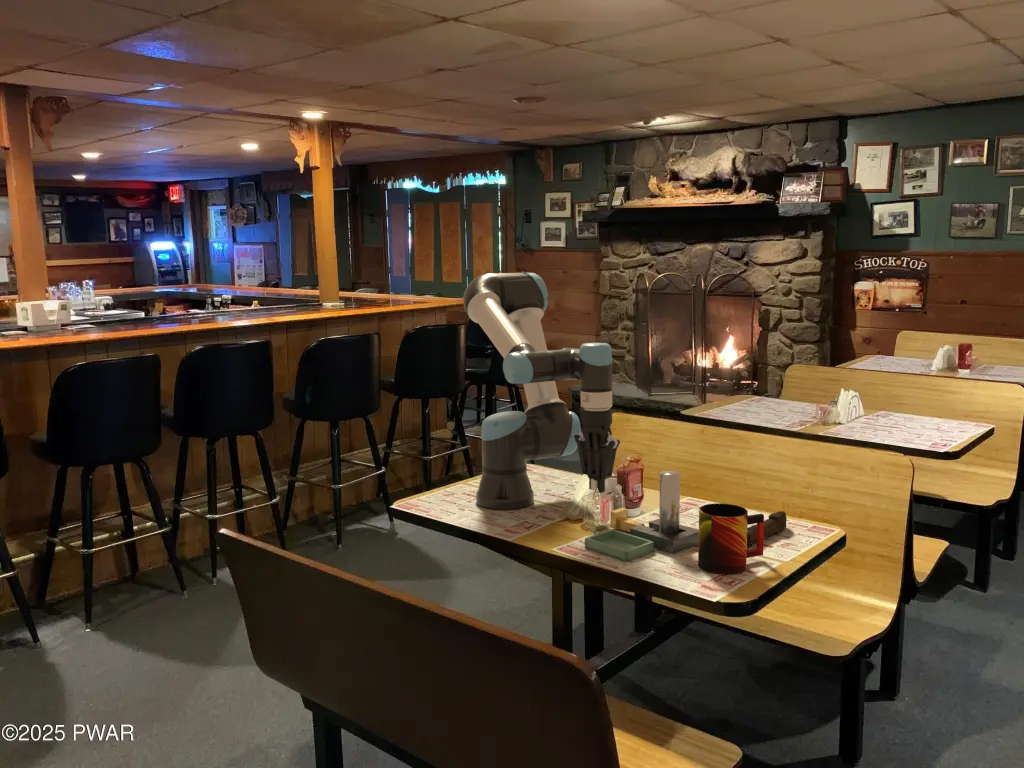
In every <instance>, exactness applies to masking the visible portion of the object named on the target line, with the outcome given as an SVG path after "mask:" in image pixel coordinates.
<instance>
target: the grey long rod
mask: <svg viewBox="0 0 1024 768" xmlns="http://www.w3.org/2000/svg"><path fill="white" fill-rule="evenodd" d="M680 503H681V473H680V472H678V471H674V470H663V471H661V472H659V510H658V514H659V517H658V519H659V533H662V534H666V535H669V536H673V535H676V534H679V525H680V518H681V517H680V515H681V514H680V513H681V510H680V507H681V504H680Z"/></svg>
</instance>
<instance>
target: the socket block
mask: <svg viewBox="0 0 1024 768" xmlns="http://www.w3.org/2000/svg"><path fill="white" fill-rule="evenodd" d="M629 534H630V535H633V536H637V537H640V538H643V539H646V540H650V541H653V542H654V550H658V551H660V552H663V553H667V554H670V555H675V554H678V553H681V552H683V551H686V550H688V549H691V548H694V547H696V546H697V547H698V541H699V529H697V528H694V527H689V526H686V525H682V524H679V534H676V535H673V536H669V535H666V534H662V533H659V518H656V519H653V520H651V521H648V526H646V525H644V526H643V525H638V526H636V527H633V528H630V532H629Z"/></svg>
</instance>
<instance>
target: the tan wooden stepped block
mask: <svg viewBox="0 0 1024 768" xmlns="http://www.w3.org/2000/svg"><path fill="white" fill-rule="evenodd" d="M638 525H643V526H645V523H644V522H640V521H637V520H635V519H630V518H628V509H627V508H624V507H620V508H617V509H613V510H611V511H610V529H614V530H620V531H624V532H626V533H627V532H628V533H630V528H633V527H636V526H638Z"/></svg>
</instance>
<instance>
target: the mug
mask: <svg viewBox="0 0 1024 768" xmlns="http://www.w3.org/2000/svg"><path fill="white" fill-rule="evenodd" d="M764 521H765V514H763V513H757V514H751V515H748V510H747V509H746V507H743V506H739V505H737V504H730V503H722V502H721V503H719V502H718V503H709V504H703V505H701V506H699V509H698V530H699V541H698V545H697V547H698V548H697V549H698V551H697V552H698V553H697V555H698V556H697V566H698V568H699V569H700V570H701V571H703V572H705V573H708V574H713V575H715V576H735V575H740V574H742V573H745V572H746V570H747V559H748V558H754V557H760V556H761V557H762V556H764V545H765V544H764V541H765V538H763V531H764ZM756 524H757V541H756V547H753V548H747V528H748V525H756Z"/></svg>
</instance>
